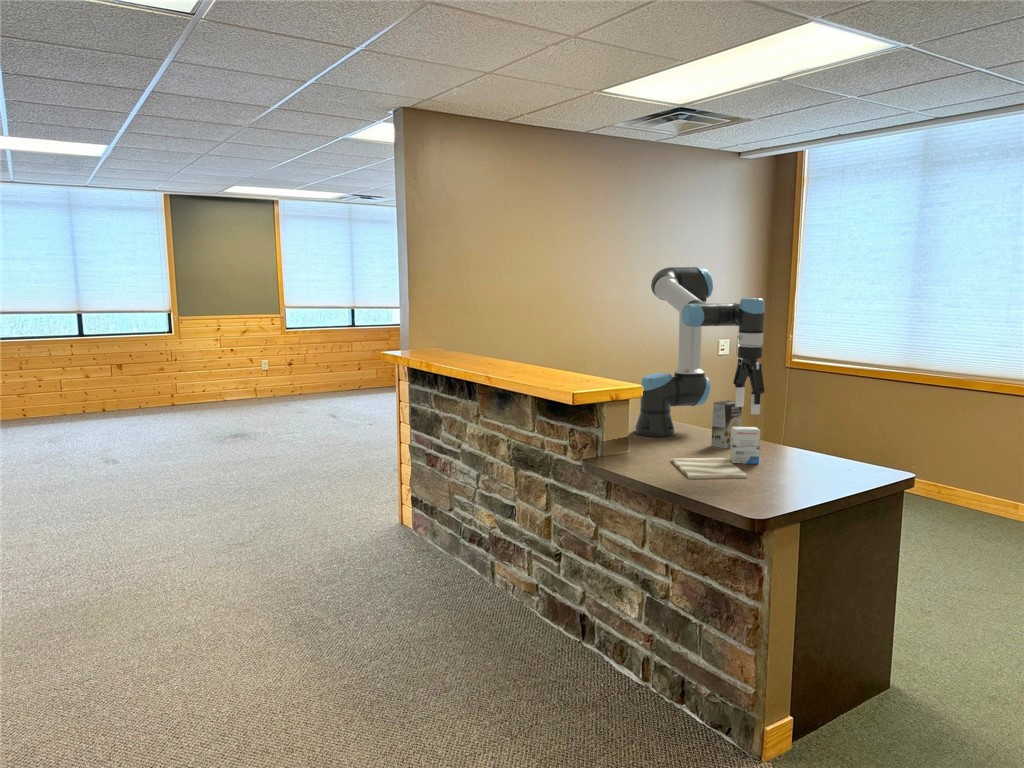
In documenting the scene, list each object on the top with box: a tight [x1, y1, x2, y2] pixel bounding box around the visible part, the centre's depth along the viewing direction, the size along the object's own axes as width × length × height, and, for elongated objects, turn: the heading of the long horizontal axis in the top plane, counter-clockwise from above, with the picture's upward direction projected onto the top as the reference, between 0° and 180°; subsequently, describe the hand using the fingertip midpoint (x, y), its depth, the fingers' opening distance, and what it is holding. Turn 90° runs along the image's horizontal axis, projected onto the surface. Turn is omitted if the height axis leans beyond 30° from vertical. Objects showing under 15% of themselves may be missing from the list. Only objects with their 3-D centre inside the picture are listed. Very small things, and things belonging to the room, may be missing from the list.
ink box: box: [729, 426, 761, 465], centre depth 228 cm, size 9×5×12 cm, turn 84°
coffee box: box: [710, 399, 743, 449], centre depth 250 cm, size 9×6×16 cm
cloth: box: [670, 457, 748, 480], centre depth 220 cm, size 20×18×1 cm
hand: (747, 410), depth 226 cm, fingers open, 13 cm apart
